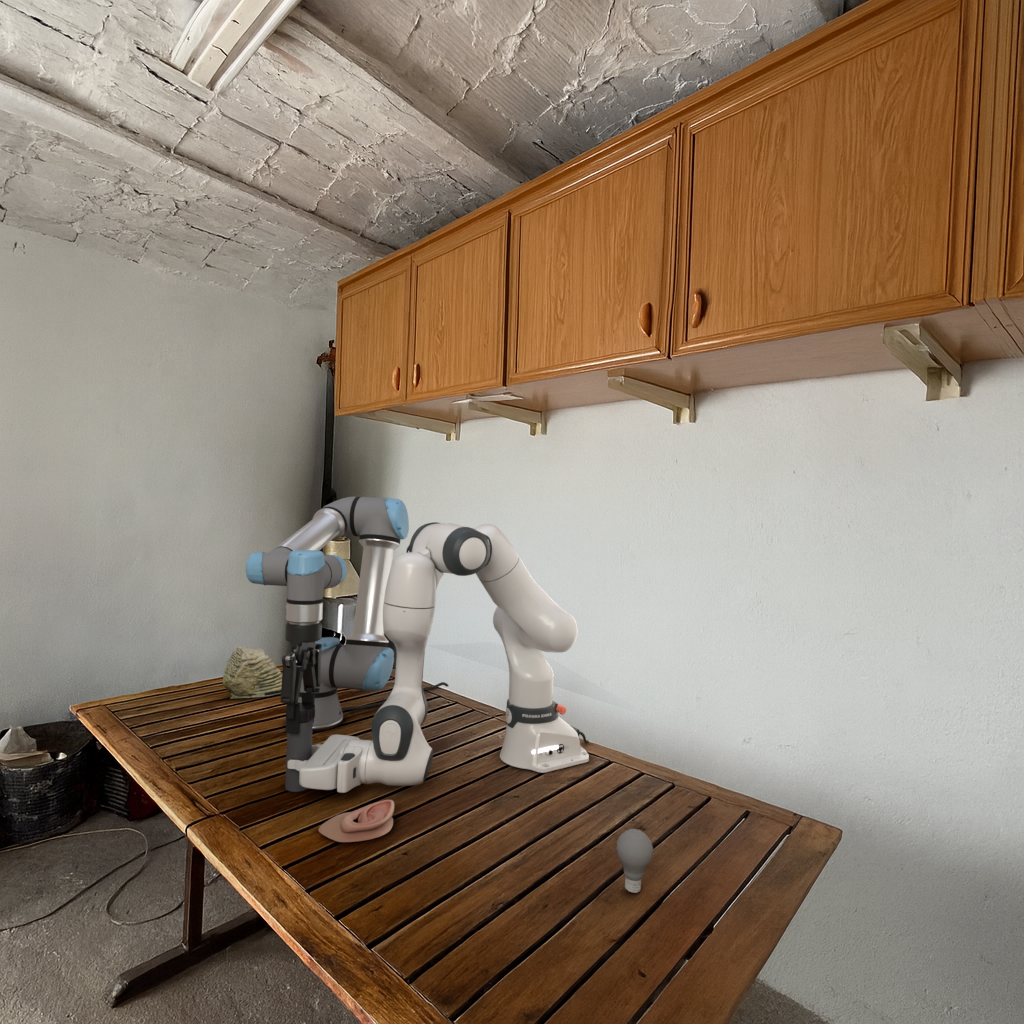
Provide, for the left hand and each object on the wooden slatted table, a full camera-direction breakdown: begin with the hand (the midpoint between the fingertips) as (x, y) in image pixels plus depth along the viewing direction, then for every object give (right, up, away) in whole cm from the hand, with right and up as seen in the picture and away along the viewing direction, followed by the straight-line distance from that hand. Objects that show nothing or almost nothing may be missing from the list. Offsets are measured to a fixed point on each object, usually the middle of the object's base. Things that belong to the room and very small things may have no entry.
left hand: (300, 727), depth 138 cm
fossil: (-34, -10, +60) cm, 70 cm away
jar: (-1, -13, 0) cm, 13 cm away
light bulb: (+66, -16, -32) cm, 75 cm away
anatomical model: (+16, -14, -16) cm, 27 cm away
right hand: (-1, -6, 0) cm, 7 cm away
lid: (0, +4, 0) cm, 4 cm away
